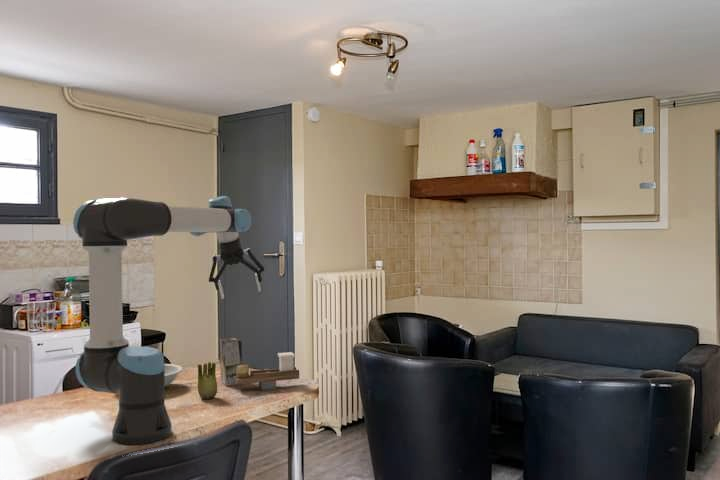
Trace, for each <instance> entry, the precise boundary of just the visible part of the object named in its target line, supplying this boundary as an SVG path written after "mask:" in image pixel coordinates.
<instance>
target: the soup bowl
mask: <svg viewBox="0 0 720 480" xmlns="http://www.w3.org/2000/svg"><path fill="white" fill-rule="evenodd" d="M164 364H165V387H168V386H169V385H171V383H173V382H174V381H175V380H176V379H177V377H178V375H179V374H180V373H181V372H183V371H184V367H183V366H181V365H178V364H173V363H164Z"/></svg>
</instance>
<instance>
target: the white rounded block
mask: <svg viewBox="0 0 720 480" xmlns="http://www.w3.org/2000/svg"><path fill="white" fill-rule="evenodd" d="M277 357H278V362H279V366H278V368H279V371H289V370H294V368H293V367H294V358H296V355H295V354H294V353H293V351H289V352H277Z"/></svg>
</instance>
